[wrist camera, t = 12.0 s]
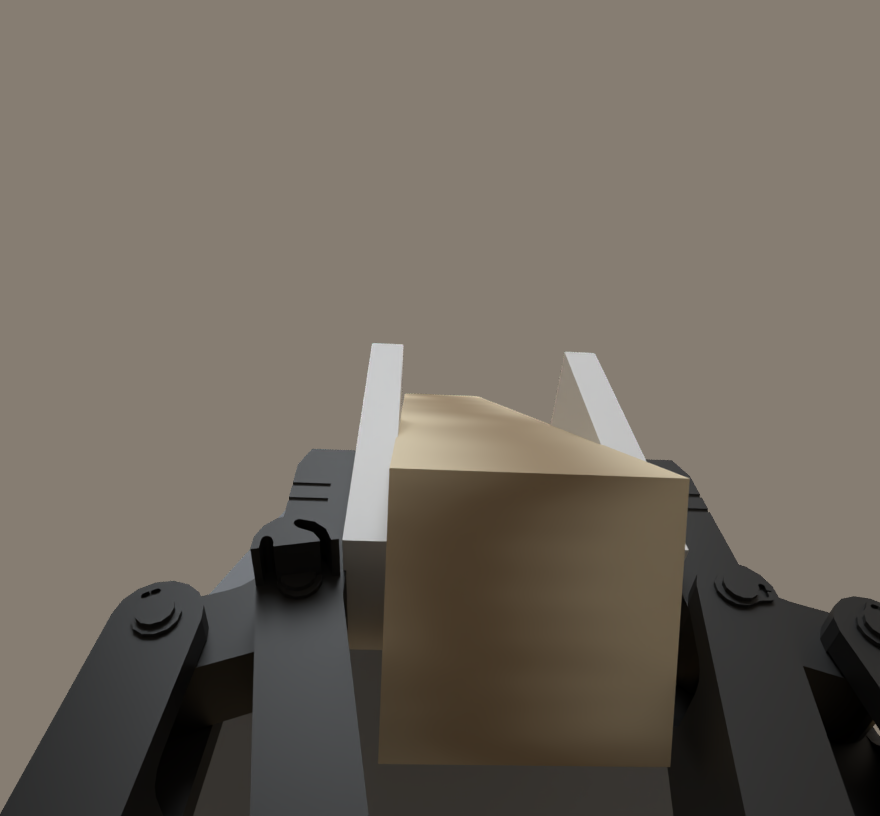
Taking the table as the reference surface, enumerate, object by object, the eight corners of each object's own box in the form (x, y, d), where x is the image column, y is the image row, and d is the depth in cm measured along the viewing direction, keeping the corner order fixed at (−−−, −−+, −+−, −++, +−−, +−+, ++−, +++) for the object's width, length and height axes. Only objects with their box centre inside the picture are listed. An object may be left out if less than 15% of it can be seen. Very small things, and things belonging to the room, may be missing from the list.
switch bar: (378, 763, 8) (389, 467, 8) (402, 465, 34) (405, 393, 34) (670, 767, 9) (689, 478, 8) (474, 468, 34) (477, 396, 34)
